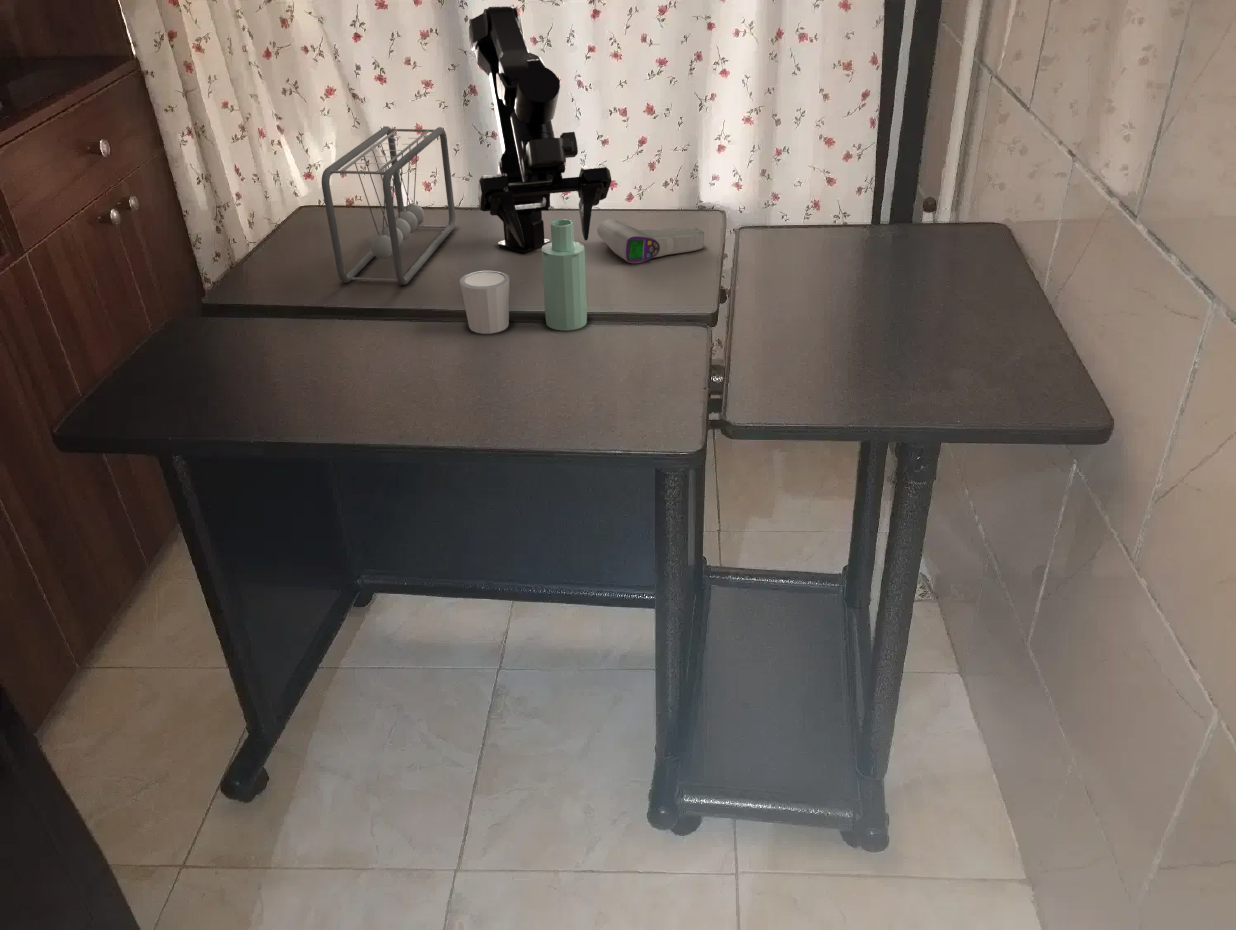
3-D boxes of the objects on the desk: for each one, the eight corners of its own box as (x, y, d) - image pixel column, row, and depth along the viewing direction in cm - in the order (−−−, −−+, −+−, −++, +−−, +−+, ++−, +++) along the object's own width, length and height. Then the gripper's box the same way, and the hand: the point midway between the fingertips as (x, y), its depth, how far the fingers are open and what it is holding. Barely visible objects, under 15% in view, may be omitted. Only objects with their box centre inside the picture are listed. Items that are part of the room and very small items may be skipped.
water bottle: (538, 320, 137) (531, 221, 129) (571, 310, 140) (567, 213, 132) (560, 334, 133) (555, 232, 125) (594, 323, 136) (591, 223, 128)
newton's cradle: (403, 290, 147) (387, 173, 138) (339, 287, 149) (317, 172, 139) (457, 226, 172) (446, 124, 163) (401, 224, 174) (387, 123, 164)
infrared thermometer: (706, 256, 160) (627, 266, 154) (669, 234, 169) (593, 243, 163) (708, 229, 158) (628, 238, 152) (671, 209, 167) (594, 216, 161)
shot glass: (504, 337, 132) (500, 289, 129) (457, 333, 134) (452, 286, 130) (519, 317, 138) (515, 271, 134) (473, 314, 139) (469, 268, 135)
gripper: (472, 116, 129) (492, 222, 126) (607, 106, 133) (628, 209, 130) (470, 160, 140) (488, 258, 137) (595, 149, 143) (614, 245, 140)
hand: (554, 242), depth 136 cm, fingers open, 9 cm apart
